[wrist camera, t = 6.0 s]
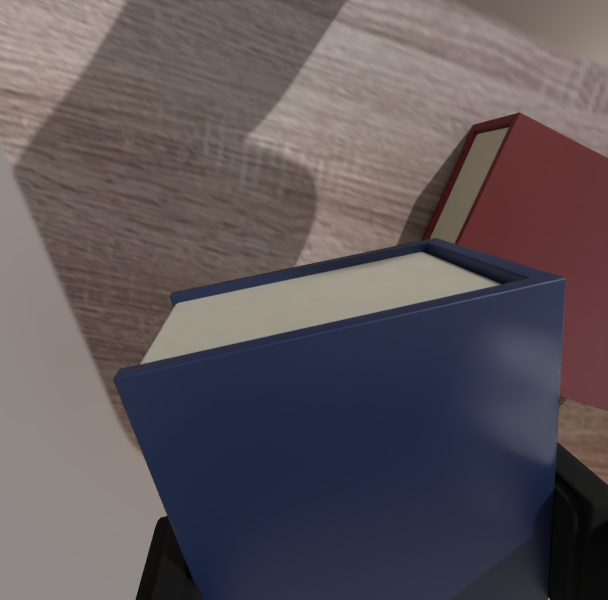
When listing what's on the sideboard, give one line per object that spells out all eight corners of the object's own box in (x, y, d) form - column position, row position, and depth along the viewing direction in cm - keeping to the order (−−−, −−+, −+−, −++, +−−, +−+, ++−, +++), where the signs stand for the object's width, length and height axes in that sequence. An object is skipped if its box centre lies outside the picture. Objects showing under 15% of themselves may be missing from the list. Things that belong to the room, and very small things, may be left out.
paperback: (171, 292, 9) (112, 379, 5) (436, 237, 9) (567, 277, 5) (269, 605, 12) (277, 794, 8) (455, 553, 13) (542, 711, 9)
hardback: (384, 324, 28) (408, 349, 24) (473, 124, 25) (519, 111, 21) (582, 388, 33) (631, 418, 29) (680, 226, 29) (754, 233, 25)
